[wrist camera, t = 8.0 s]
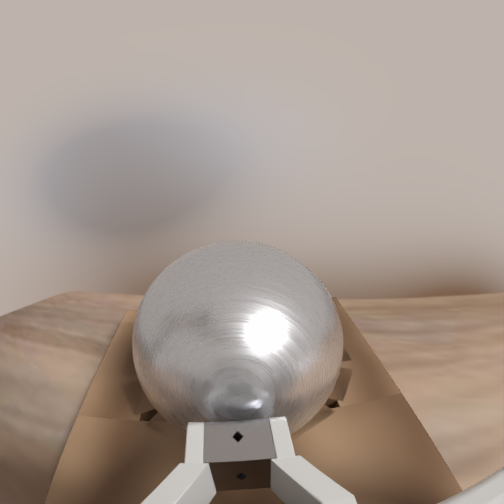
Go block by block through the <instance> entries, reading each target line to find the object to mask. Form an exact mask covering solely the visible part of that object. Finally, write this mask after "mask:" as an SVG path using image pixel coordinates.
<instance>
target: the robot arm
mask: <svg viewBox="0 0 504 504" xmlns="http://www.w3.org/2000/svg"><path fill="white" fill-rule="evenodd" d="M260 488H271V490H272V491H273V492H274V493H275V494H276V495H277V496H278V497H279V498H280V499H281V500H282V501H283V502H284V503H285V504H357V502H356V499H355V496H354V495H353V494H351V493H350V492H348V491H347V490H346V489H344V488H343V487H341V486H340V485H339V484H337V483H336V482H334V481H333V480H332V479H330V478H329V477H328V476H326V475H325V474H324V473H322V472H321V471H320V470H318V469H317V468H316V467H314V466H313V465H312V464H311V463H309V462H308V461H307V460H305V459H304V458H303V457H302V456H300V455H299V456H295V452H294V448H293V444H292V440H291V435H290V431H289V427H288V423H287V419H286V417H285V416H283V417H274V418H269V419H268V418H263V419H253V420H241V421H232V422H189V423H188V425H187V434H186V446H185V460H184V463H179V464H178V465H177V466H176V468H175V469H174V470H173V471H172V472H171V473H170V474H169V475H168V476H167V477H166V478H165V479H164V480H163V481H162V482H161V483H160V484H159V485H158V487H157V488H156V489H155V490H154V491H153V492H152V493H151V494H150V495H149V496H148V497H147V498H146V499H145V500H144V501H143V502H142V503H141V504H209V503H210V502H211V500H212V499H213V497H214V496H215V494H216V491H230V490H243V489H260ZM437 504H504V467H503V468H501V469H500V470H498V471H496V472H495V473H493V474H492V475H490V476H488V477H487V478H485V479H483V480H482V481H480V482H478V483H476V484H475V485H473V486H471V487H469V488H467V489H465V490H464V491H462V492H460V493H458V494H456V495H454V496H452V497H450V498H448V499H446V500H444V501H442V502H439V503H437Z"/></svg>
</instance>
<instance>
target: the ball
mask: <svg viewBox="0 0 504 504" xmlns="http://www.w3.org/2000/svg"><path fill="white" fill-rule="evenodd" d="M132 353H133V362H134V366H135V370H136V374H137V377H138V379H139V381H140V384H141V386H142V389H143V391H144V393H145V394H146V396H147V398H148V400H149V401H150V402H151V404H152V405H153V406H154V408H155V409H156V410H157V411H158V412H159V413H160V414H161V415H162V416H163V417H164V418H165V419H166V420H167V421H168V422H169V423H170V424H171V425H173V426H174V427H175V428H176V429H178V430H179V431H181V432H183V433H184V434H187V425H188V423H189V422H232V421H241V420H253V419H263V418H268V419H269V418H274V417H283V416H285V417H286V419H287V423H288V427H289V431H290V435H291V434H292V433H294V432H296V431H297V430H299V429H300V428H301V427H303V426H304V425H305V424H306V423H308V422H309V421H310V420H311V419H312V418H313V417H314V416H315V415H316V414H317V413H318V412H319V411H320V409H321V408H322V407H323V406H324V404H325V403H326V401H327V400H328V398H329V396H330V395H331V393H332V391H333V389H334V386H335V384H336V382H337V379H338V377H339V373H340V369H341V365H342V358H343V331H342V326H341V321H340V318H339V315H338V312H337V309H336V306H335V303H334V301H333V299H332V297H331V295H330V293H329V292H328V290H327V289H326V288H325V286H324V285H323V283H322V282H321V281H320V280H319V279H318V278H317V276H316V275H315V274H314V273H313V272H312V271H311V270H310V269H309V268H308V267H307V266H305V265H304V264H303V263H302V262H300V261H299V260H297V259H296V258H294V257H293V256H291V255H289V254H288V253H286V252H283V251H281V250H279V249H276V248H274V247H271V246H268V245H264V244H260V243H254V242H247V241H228V242H219V243H214V244H210V245H206V246H203V247H200V248H198V249H195V250H193V251H190V252H188V253H187V254H185V255H183V256H181V257H180V258H178V259H177V260H175V261H174V262H173V263H172V264H170V265H169V266H168V267H167V268H166V269H165V270H164V271H163V272H162V273H161V274H160V275H159V276H158V277H157V278H156V279H155V280H154V282H153V283H152V284H151V286H150V287H149V288H148V290H147V291H146V293H145V295H144V297H143V299H142V301H141V303H140V306H139V309H138V312H137V315H136V317H135V321H134V327H133V333H132Z"/></svg>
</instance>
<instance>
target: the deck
mask: <svg viewBox="0 0 504 504" xmlns="http://www.w3.org/2000/svg"><path fill="white" fill-rule="evenodd" d="M332 299H333V301H334V303H335V306H336V309H337V312H338V315H339V318H340V321H341V326H342V331H343V358H342V365H341V369H340V373H339V377H338V379H337V382H336V384H335V386H334V389H333V391H332V393H331V395H330V396H329V398H328V400H327V401H326V403H325V404H324V406H323V407H322V408H321V409H320V411H319V412H318V413H317V414H316V415H315V416H314V417H313V418H312V419H311V420H310V421H309V422H308V423H306V424H305V425H304V426H303V427H301V428H300V429H299V430H297V431H296V432H294V433H292V434H291V440H292V444H293V448H294V452H295V456H299V455H300V456H302V457H303V458H304V459H305V460H307V461H308V462H309V463H311V464H312V465H313V466H314V467H316V468H317V469H318V470H320V471H321V472H322V473H324V474H325V475H326V476H328V477H329V478H330V479H332V480H333V481H334V482H336V483H337V484H339V485H340V486H341V487H343V488H344V489H346V490H347V491H348V492H350V493H351V494H353V495H354V496H355V499H356V502H357V504H437V503H439V502H442V501H444V500H446V499H448V498H450V497H452V496H454V495H456V494H458V493H460V492H462V489H461V488H460V486H459V484H458V482H457V481H456V479H455V477H454V476H453V474H452V472H451V471H450V469H449V467H448V466H447V464H446V462H445V461H444V459H443V458H442V456H441V454H440V453H439V451H438V449H437V448H436V446H435V445H434V443H433V441H432V440H431V438H430V437H429V435H428V433H427V432H426V430H425V429H424V427H423V426H422V424H421V422H420V421H419V419H418V418H417V416H416V415H415V413H414V411H413V410H412V408H411V407H410V405H409V404H408V402H407V401H406V399H405V398H404V396H403V395H402V393H401V392H400V390H399V389H398V387H397V386H396V384H395V382H394V381H393V379H392V378H391V376H390V375H389V374H388V372H387V371H386V369H385V368H384V366H383V365H382V363H381V362H380V360H379V359H378V357H377V356H376V354H375V353H374V351H373V350H372V348H371V347H370V346H369V344H368V343H367V341H366V340H365V338H364V337H363V335H362V334H361V333H360V331H359V330H358V328H357V327H356V325H355V324H354V322H353V321H352V320H351V318H350V317H349V315H348V314H347V313H346V311H345V310H344V308H343V307H342V305H341V304H340V303H339V301H338V300H337V298H336V297H334V298H332ZM137 312H138V310H133V311H127V312H126V314H125V316H124V318H123V320H122V322H121V324H120V326H119V327H118V329H117V331H116V333H115V335H114V337H113V339H112V341H111V344H110V346H109V348H108V350H107V352H106V354H105V356H104V358H103V360H102V362H101V364H100V366H99V368H98V371H97V373H96V375H95V377H94V379H93V381H92V384H91V386H90V388H89V390H88V393H87V395H86V397H85V399H84V402H83V404H82V406H81V408H80V411H79V413H78V416H77V418H76V420H75V423H74V425H73V427H72V430H71V432H70V435H69V437H68V440H67V442H66V445H65V447H64V450H63V453H62V455H61V458H60V460H59V463H58V466H57V469H56V471H55V474H54V477H53V480H52V482H51V485H50V488H49V491H48V494H47V497H46V500H45V503H44V504H141V503H142V502H143V501H144V500H145V499H146V498H147V497H148V496H149V495H150V494H151V493H152V492H153V491H154V490H155V489H156V488H157V487H158V485H159V484H160V483H161V482H162V481H163V480H164V479H165V478H166V477H167V476H168V475H169V474H170V473H171V472H172V471H173V470H174V469H175V468H176V466H177V465H178V464H179V463H184V460H185V446H186V434H184V433H183V432H181V431H179V430H178V429H176V428H175V427H174V426H173V425H171V424H170V423H169V422H168V421H167V420H166V419H165V418H164V417H163V416H162V415H161V414H160V413H159V412H158V411H157V410H156V409H155V408H154V406H153V405H152V404H151V402H150V401H149V400H148V398H147V396H146V394H145V393H144V391H143V389H142V386H141V384H140V381H139V379H138V377H137V374H136V370H135V366H134V362H133V353H132V333H133V327H134V321H135V317H136V315H137ZM209 504H285V503H284V502H283V501H282V500H281V499H280V498H279V497H278V496H277V495H276V494H275V493H274V492H273V491H272V490H271V488H260V489H243V490H230V491H216V494H215V496H214V497H213V499H212V500H211V502H210V503H209Z"/></svg>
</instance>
